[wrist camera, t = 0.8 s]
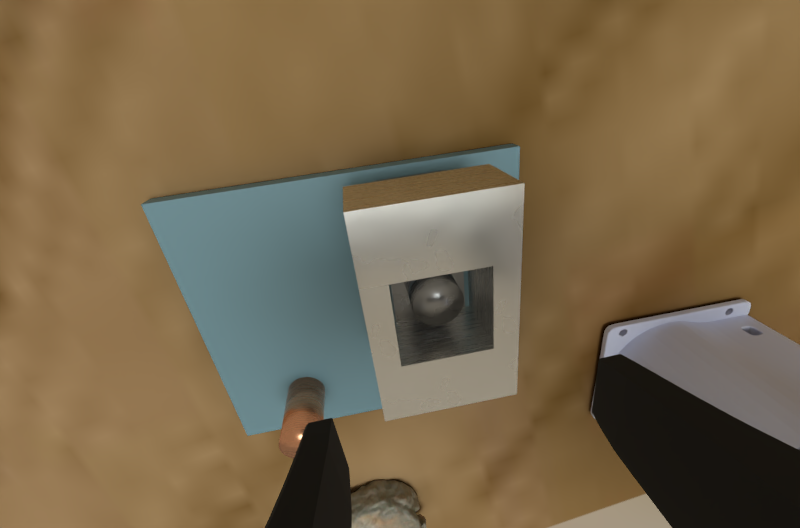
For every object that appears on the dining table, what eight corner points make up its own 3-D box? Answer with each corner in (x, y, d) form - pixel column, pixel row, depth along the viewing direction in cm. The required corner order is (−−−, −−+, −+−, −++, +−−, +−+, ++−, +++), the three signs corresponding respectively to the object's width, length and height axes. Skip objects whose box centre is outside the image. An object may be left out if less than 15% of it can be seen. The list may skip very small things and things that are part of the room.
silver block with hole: (489, 163, 14) (524, 183, 11) (490, 348, 18) (517, 394, 15) (342, 186, 14) (343, 212, 11) (378, 370, 18) (385, 421, 15)
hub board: (512, 143, 17) (519, 146, 16) (507, 372, 23) (513, 381, 22) (149, 198, 16) (140, 204, 15) (250, 424, 22) (247, 435, 21)
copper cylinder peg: (320, 374, 20) (317, 425, 17) (328, 400, 21) (326, 453, 18) (283, 381, 20) (273, 434, 17) (293, 407, 21) (285, 462, 18)
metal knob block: (440, 165, 17) (476, 196, 12) (450, 310, 20) (481, 374, 16) (371, 176, 16) (382, 211, 12) (393, 321, 20) (408, 388, 16)
